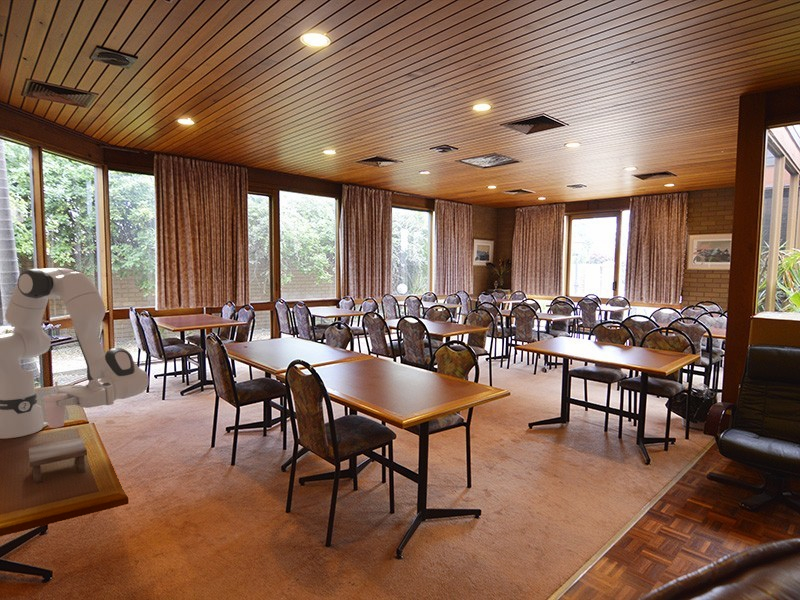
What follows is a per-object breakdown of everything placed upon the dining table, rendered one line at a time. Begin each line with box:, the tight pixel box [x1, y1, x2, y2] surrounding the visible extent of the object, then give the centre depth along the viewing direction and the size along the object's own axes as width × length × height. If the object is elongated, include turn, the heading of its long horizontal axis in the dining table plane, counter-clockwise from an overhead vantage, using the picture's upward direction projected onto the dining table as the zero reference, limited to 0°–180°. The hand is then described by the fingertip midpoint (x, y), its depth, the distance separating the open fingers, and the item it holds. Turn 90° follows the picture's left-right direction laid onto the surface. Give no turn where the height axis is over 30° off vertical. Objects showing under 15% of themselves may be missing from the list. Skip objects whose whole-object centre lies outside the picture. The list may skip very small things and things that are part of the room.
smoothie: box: [42, 381, 68, 429], centre depth 147 cm, size 6×6×14 cm
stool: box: [28, 437, 88, 484], centre depth 148 cm, size 14×14×7 cm
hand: (51, 402), depth 146 cm, fingers closed on smoothie, 6 cm apart
